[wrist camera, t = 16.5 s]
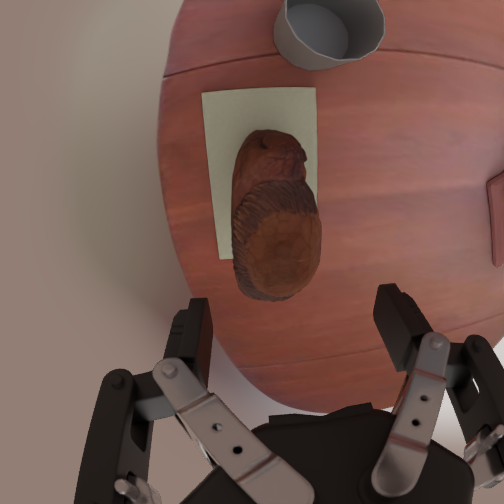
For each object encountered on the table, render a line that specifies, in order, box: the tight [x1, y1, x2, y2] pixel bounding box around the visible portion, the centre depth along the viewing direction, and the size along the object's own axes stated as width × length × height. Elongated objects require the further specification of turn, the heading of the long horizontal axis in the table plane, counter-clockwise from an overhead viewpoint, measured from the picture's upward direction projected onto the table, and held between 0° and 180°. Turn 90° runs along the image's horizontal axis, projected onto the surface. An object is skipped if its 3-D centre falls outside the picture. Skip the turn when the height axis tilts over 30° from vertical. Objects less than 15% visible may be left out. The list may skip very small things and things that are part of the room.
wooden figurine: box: [231, 129, 322, 302], centre depth 25 cm, size 12×6×18 cm, turn 1°
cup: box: [273, 0, 385, 71], centre depth 21 cm, size 8×8×10 cm
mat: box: [201, 87, 317, 259], centre depth 33 cm, size 20×12×1 cm, turn 4°
